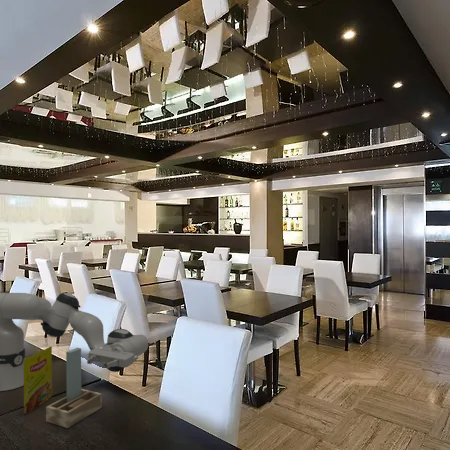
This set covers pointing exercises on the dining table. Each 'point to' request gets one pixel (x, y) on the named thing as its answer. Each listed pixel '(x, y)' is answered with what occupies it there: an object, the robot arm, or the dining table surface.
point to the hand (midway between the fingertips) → (97, 363)
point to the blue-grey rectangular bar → (73, 373)
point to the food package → (37, 379)
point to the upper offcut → (76, 404)
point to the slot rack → (65, 418)
